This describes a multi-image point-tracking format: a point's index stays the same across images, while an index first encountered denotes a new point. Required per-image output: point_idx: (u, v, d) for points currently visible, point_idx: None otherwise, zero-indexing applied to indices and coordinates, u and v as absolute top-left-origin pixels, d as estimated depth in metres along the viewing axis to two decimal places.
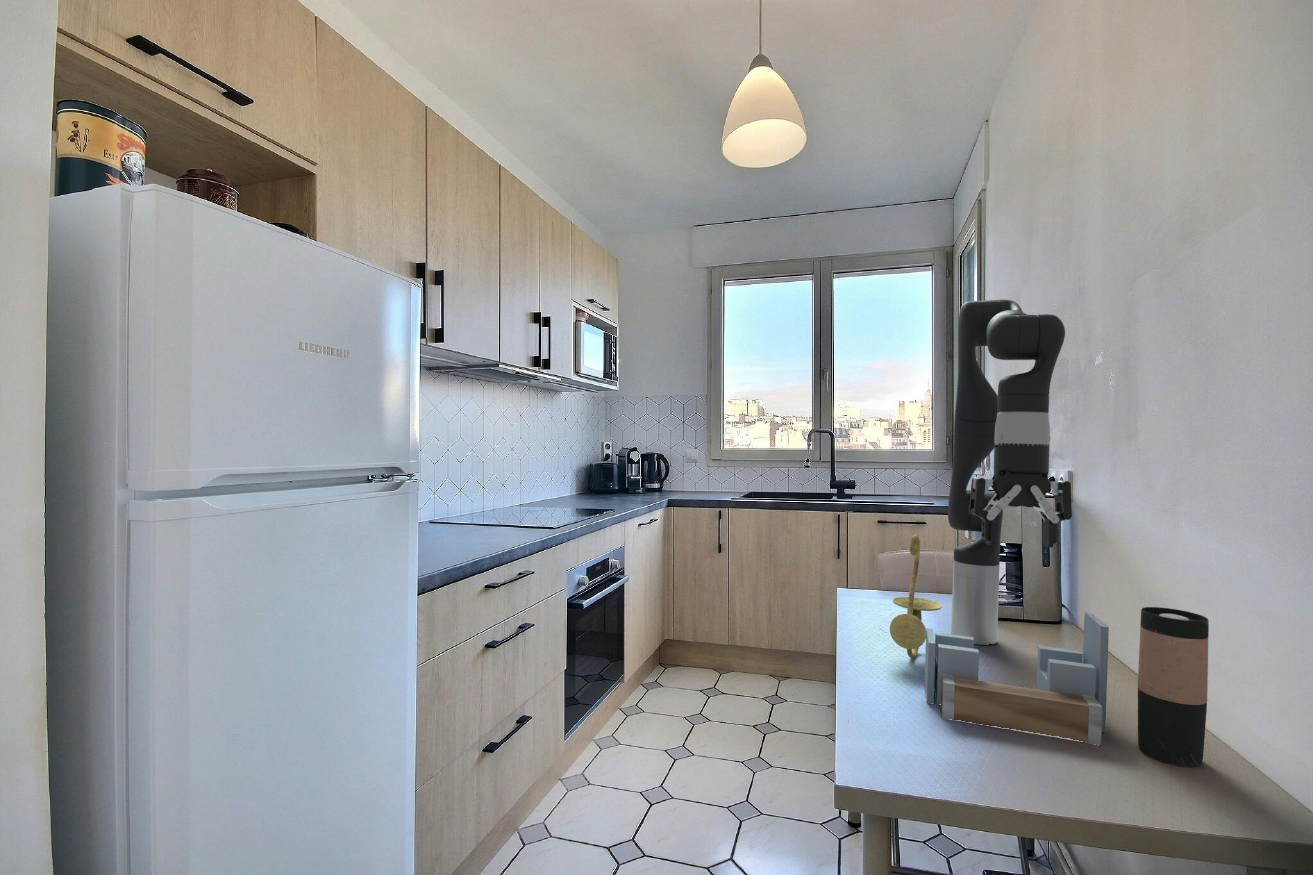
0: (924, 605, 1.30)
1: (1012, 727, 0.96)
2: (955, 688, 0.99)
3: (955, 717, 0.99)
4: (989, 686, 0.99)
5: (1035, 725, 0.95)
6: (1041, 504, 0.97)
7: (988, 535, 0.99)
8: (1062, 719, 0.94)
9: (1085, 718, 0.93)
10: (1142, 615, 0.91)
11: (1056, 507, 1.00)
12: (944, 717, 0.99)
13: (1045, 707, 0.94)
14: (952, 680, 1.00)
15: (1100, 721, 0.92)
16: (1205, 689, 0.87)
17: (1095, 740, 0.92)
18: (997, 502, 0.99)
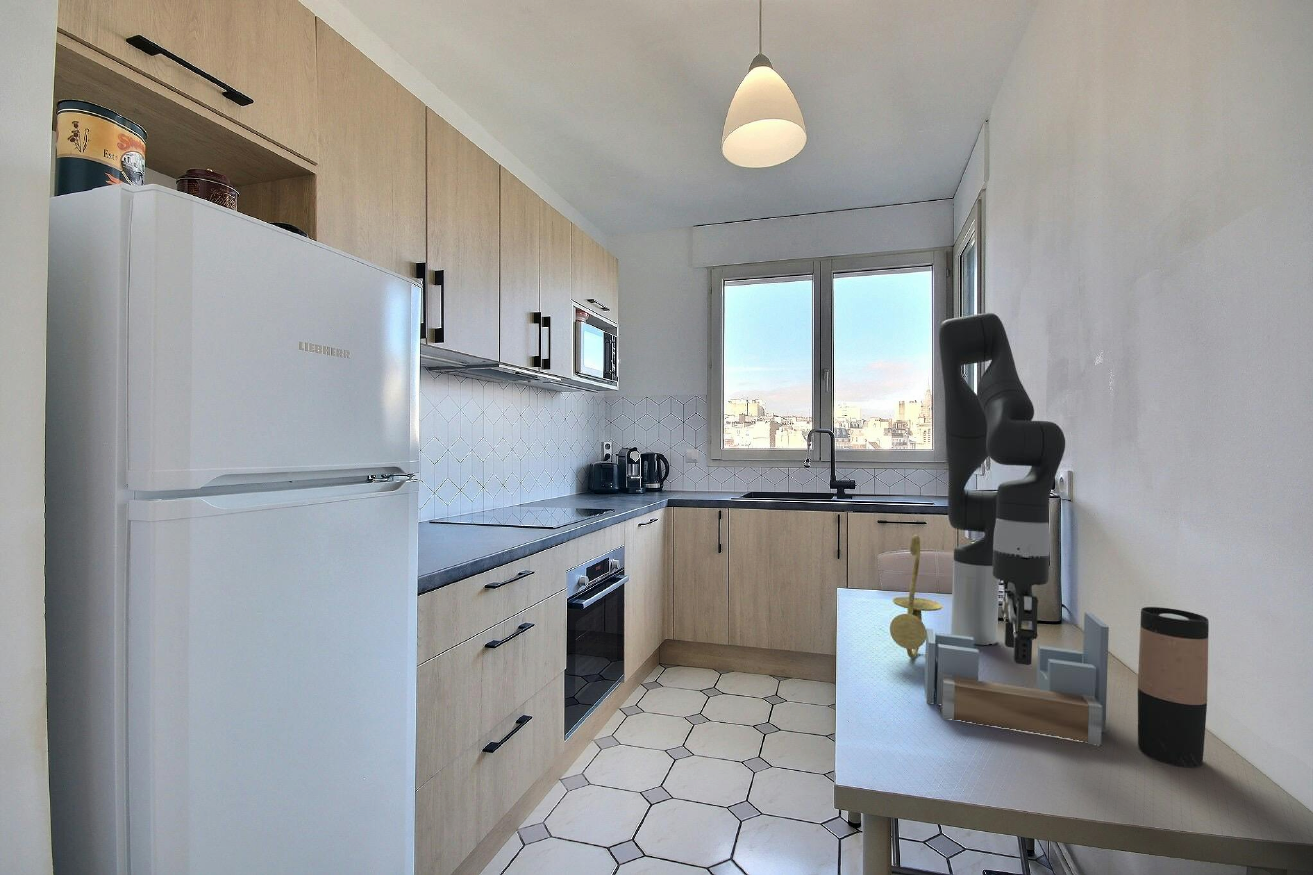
0: (924, 605, 1.30)
1: (1012, 727, 0.96)
2: (955, 688, 0.99)
3: (955, 717, 0.99)
4: (989, 686, 0.99)
5: (1035, 725, 0.95)
6: None
7: (1028, 655, 0.93)
8: (1062, 719, 0.94)
9: (1085, 718, 0.93)
10: (1142, 615, 0.91)
11: None
12: (944, 717, 0.99)
13: (1045, 707, 0.94)
14: (952, 680, 1.00)
15: (1100, 721, 0.92)
16: (1205, 689, 0.87)
17: (1095, 740, 0.92)
18: None
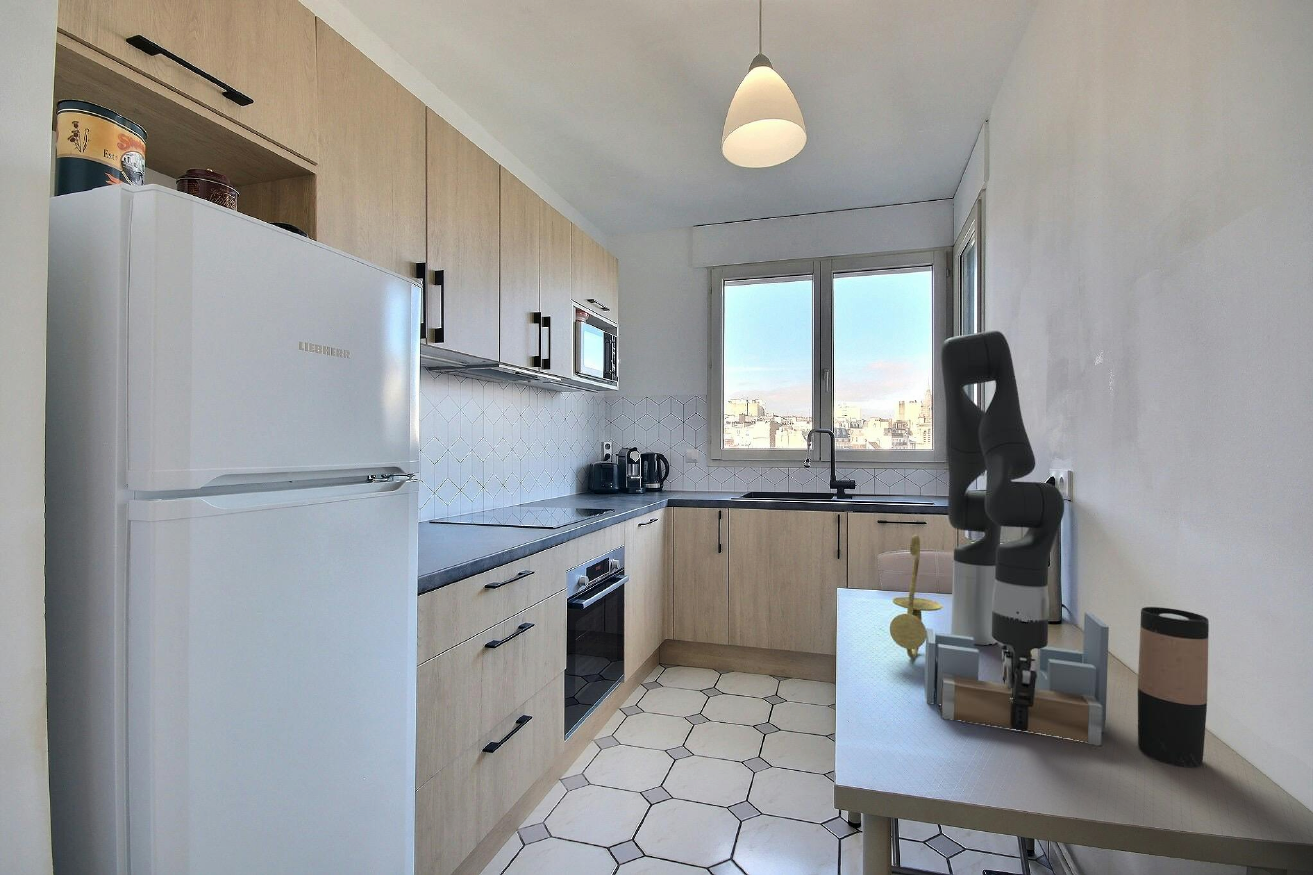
0: (924, 605, 1.30)
1: None
2: (955, 688, 0.99)
3: (955, 717, 0.99)
4: (989, 686, 0.99)
5: (1035, 725, 0.95)
6: None
7: None
8: (1062, 718, 0.94)
9: (1085, 718, 0.93)
10: (1142, 615, 0.91)
11: None
12: (944, 717, 0.99)
13: (1045, 707, 0.94)
14: (952, 680, 1.00)
15: (1100, 721, 0.92)
16: (1205, 689, 0.87)
17: (1095, 740, 0.92)
18: None
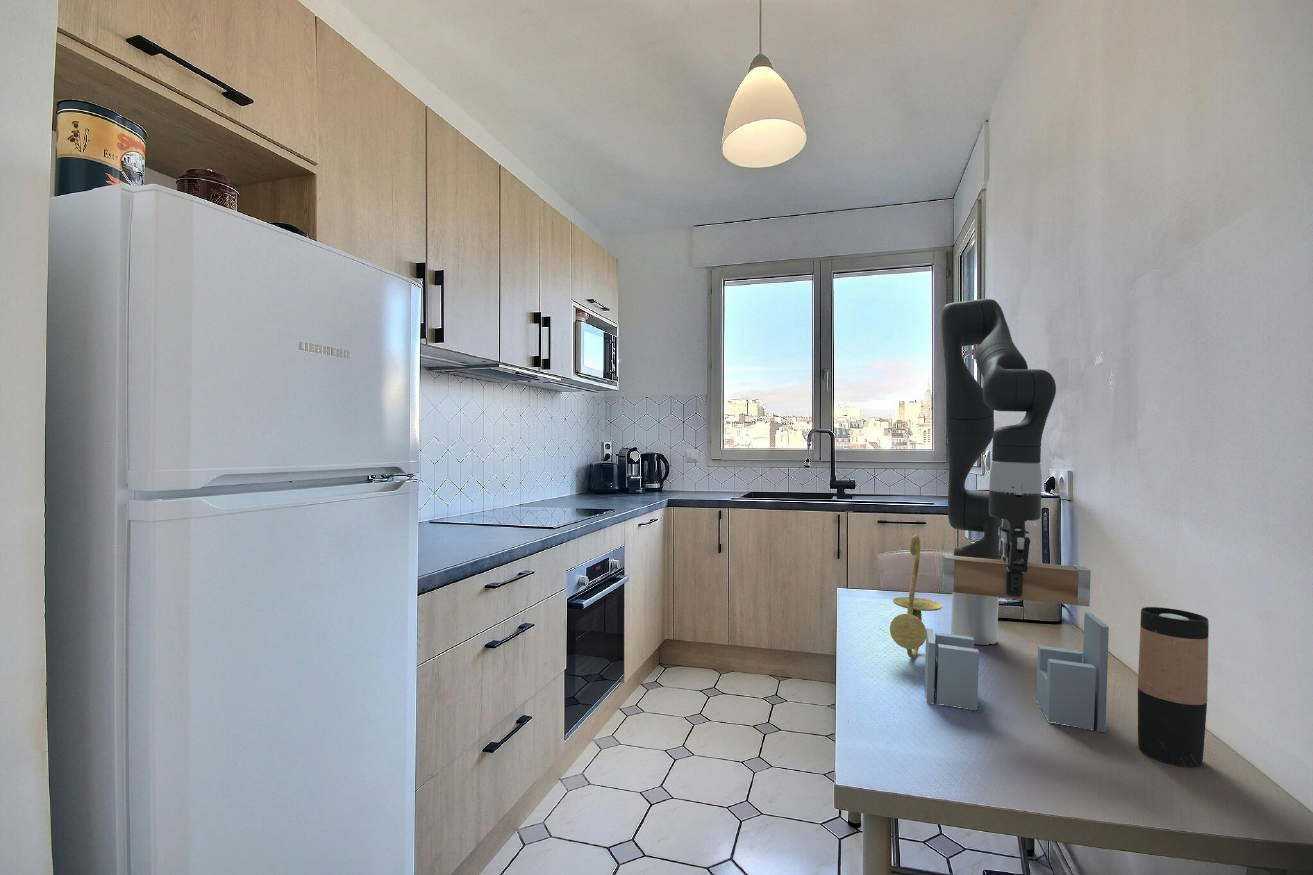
0: (924, 605, 1.30)
1: None
2: (954, 562, 1.06)
3: (955, 589, 1.06)
4: (986, 560, 1.06)
5: (1029, 591, 1.02)
6: None
7: (1019, 588, 1.02)
8: (1054, 584, 1.01)
9: (1075, 582, 1.00)
10: (1142, 615, 0.91)
11: None
12: (945, 589, 1.07)
13: (1038, 574, 1.02)
14: (952, 556, 1.08)
15: (1089, 584, 1.00)
16: (1205, 689, 0.87)
17: (1084, 601, 1.00)
18: None
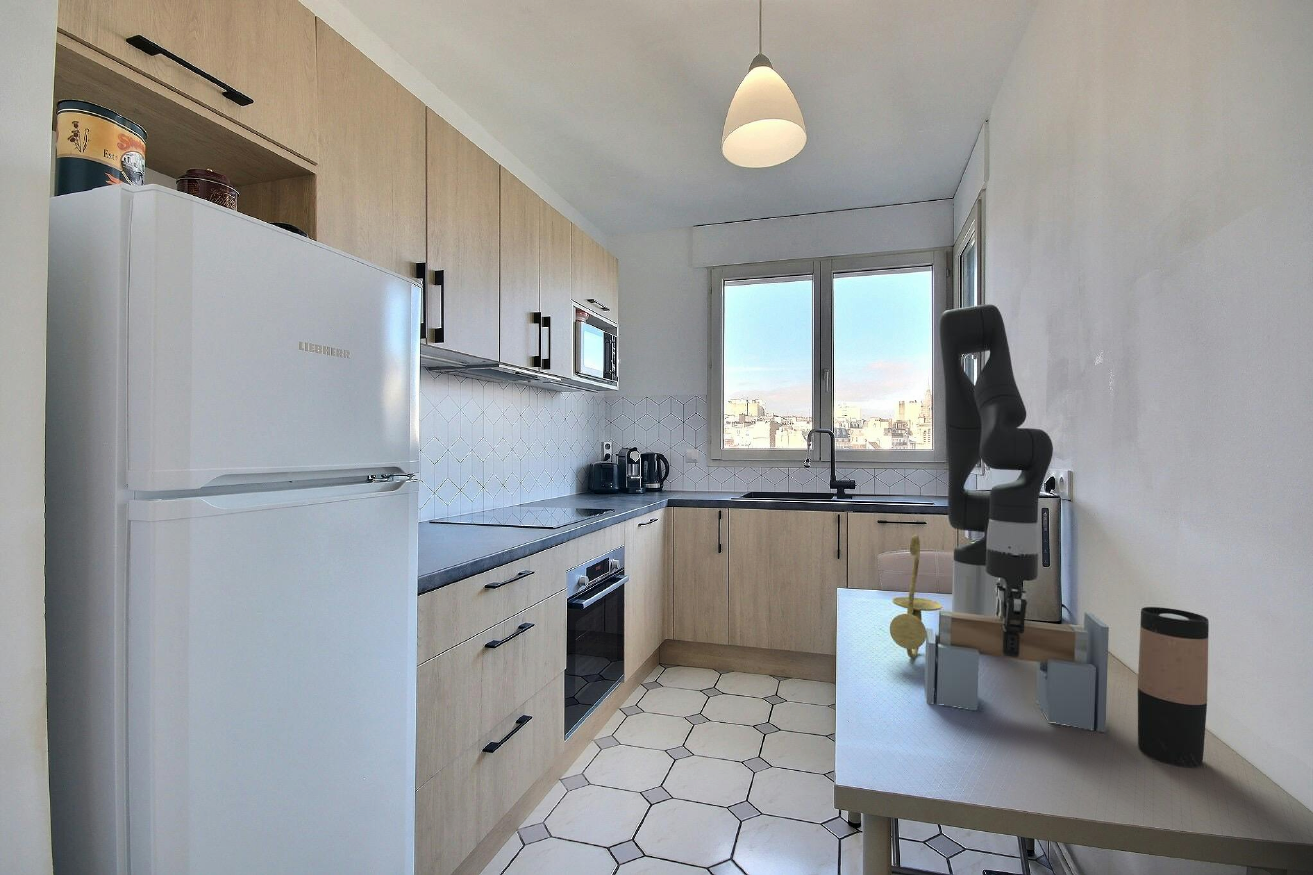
0: (924, 605, 1.30)
1: None
2: (951, 620, 1.06)
3: None
4: (983, 618, 1.06)
5: (1026, 651, 1.02)
6: None
7: None
8: (1050, 645, 1.01)
9: (1072, 643, 1.00)
10: (1142, 615, 0.91)
11: None
12: None
13: (1035, 635, 1.02)
14: (949, 613, 1.08)
15: (1085, 646, 0.99)
16: (1205, 689, 0.87)
17: None
18: None
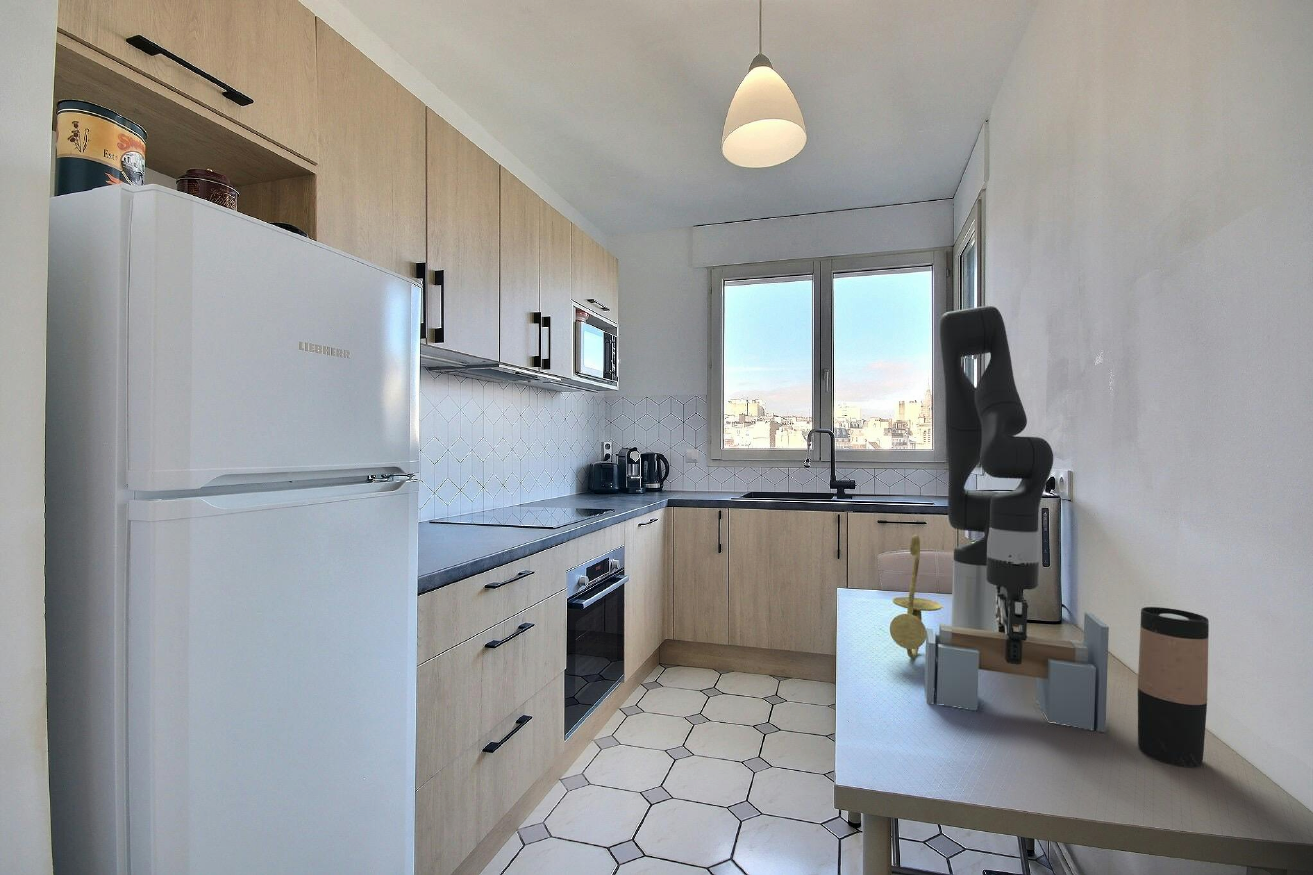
0: (924, 605, 1.30)
1: (1005, 669, 1.04)
2: (952, 635, 1.06)
3: None
4: (983, 633, 1.06)
5: (1026, 667, 1.02)
6: None
7: None
8: None
9: (1072, 659, 1.00)
10: (1142, 615, 0.91)
11: None
12: None
13: (1035, 650, 1.02)
14: (949, 628, 1.08)
15: (1085, 662, 0.99)
16: (1205, 689, 0.87)
17: None
18: None
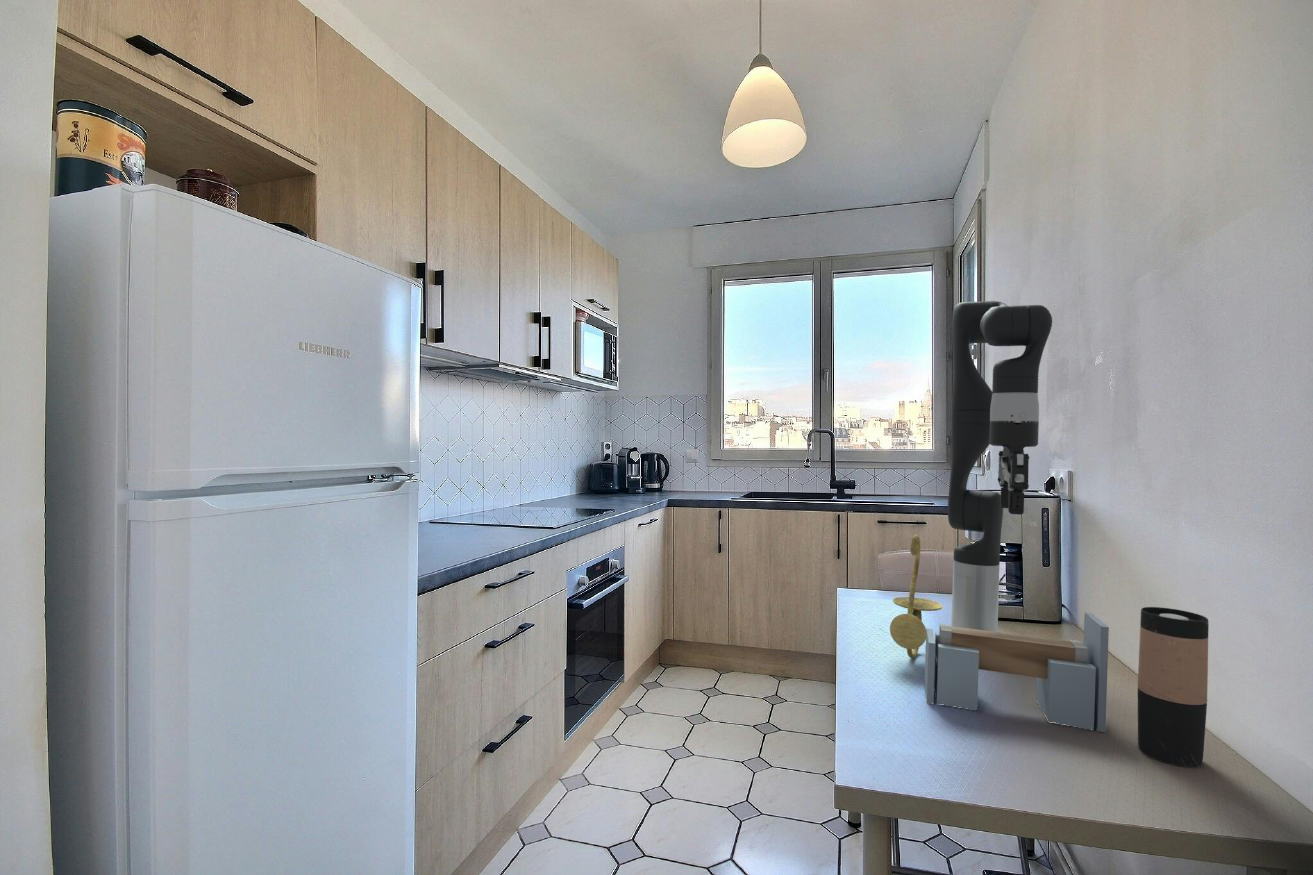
0: (924, 605, 1.30)
1: (1005, 669, 1.04)
2: (952, 635, 1.06)
3: None
4: (983, 633, 1.06)
5: (1026, 667, 1.02)
6: None
7: None
8: None
9: (1072, 659, 1.00)
10: (1142, 615, 0.91)
11: None
12: None
13: (1035, 650, 1.02)
14: (949, 628, 1.08)
15: (1085, 662, 0.99)
16: (1205, 689, 0.87)
17: None
18: (1024, 475, 1.08)
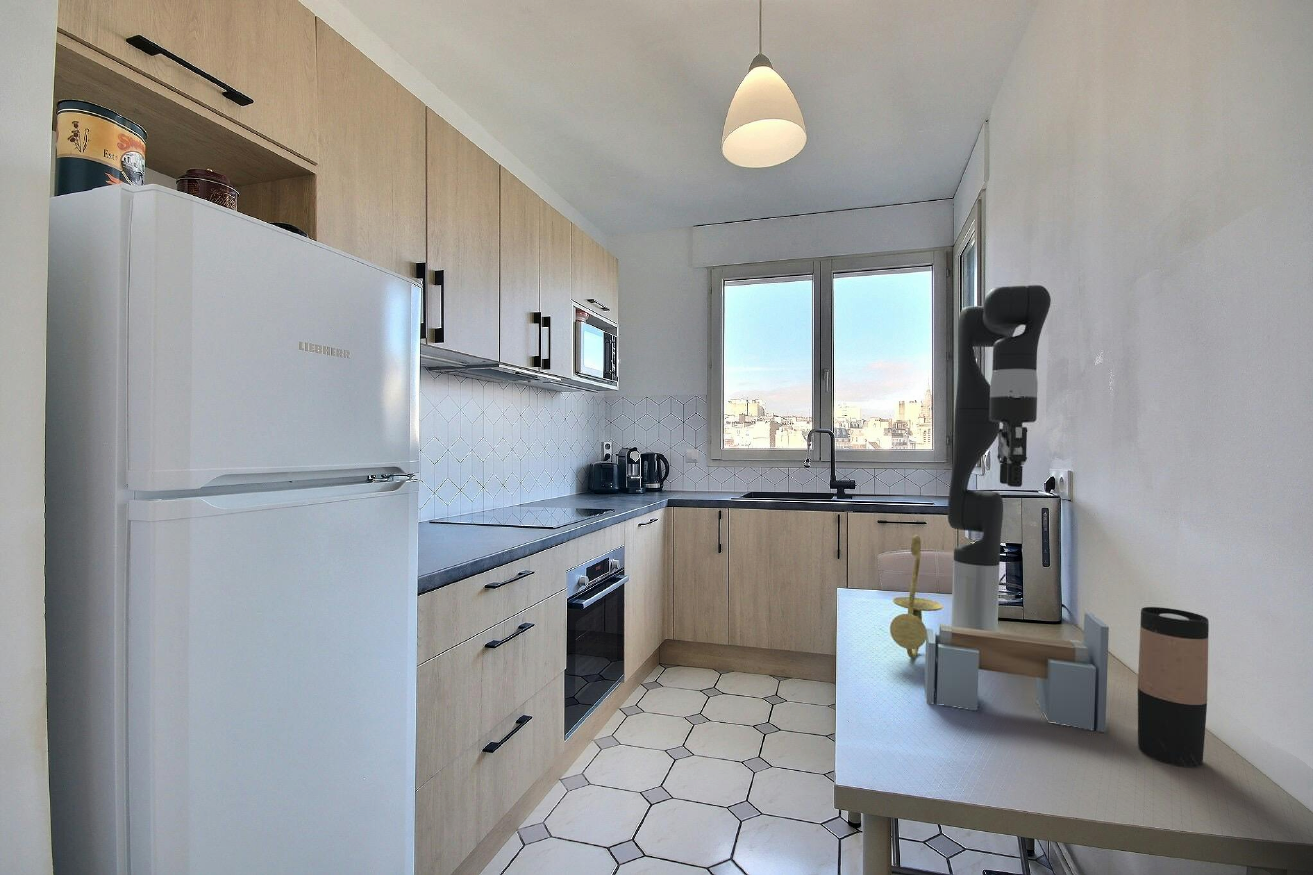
0: (924, 605, 1.30)
1: (1005, 669, 1.04)
2: (952, 635, 1.06)
3: None
4: (983, 633, 1.06)
5: (1026, 667, 1.02)
6: None
7: (1019, 478, 1.10)
8: None
9: (1072, 659, 1.00)
10: (1142, 615, 0.91)
11: None
12: None
13: (1035, 650, 1.02)
14: (949, 628, 1.08)
15: (1085, 662, 0.99)
16: (1205, 689, 0.87)
17: None
18: None
